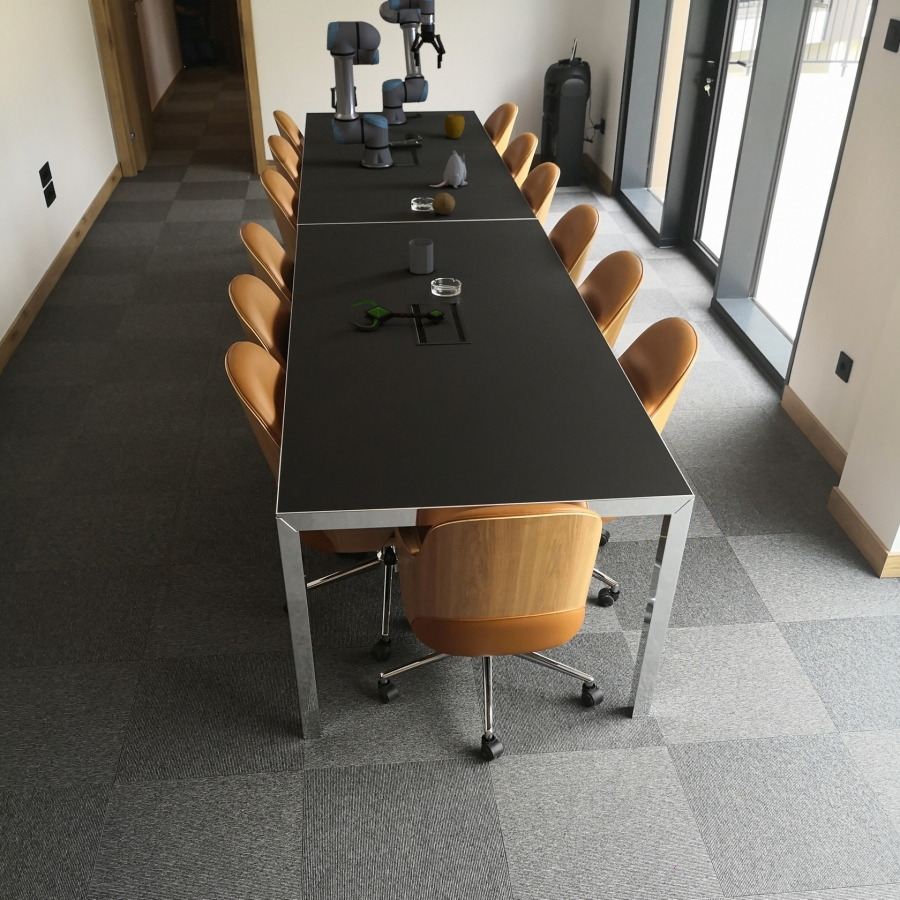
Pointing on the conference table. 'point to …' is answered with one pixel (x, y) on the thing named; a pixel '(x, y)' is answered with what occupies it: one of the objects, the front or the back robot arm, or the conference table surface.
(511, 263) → the conference table surface
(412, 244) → the cup
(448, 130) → the yellow bell pepper
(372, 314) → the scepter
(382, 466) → the conference table surface
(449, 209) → the potato
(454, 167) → the toy
